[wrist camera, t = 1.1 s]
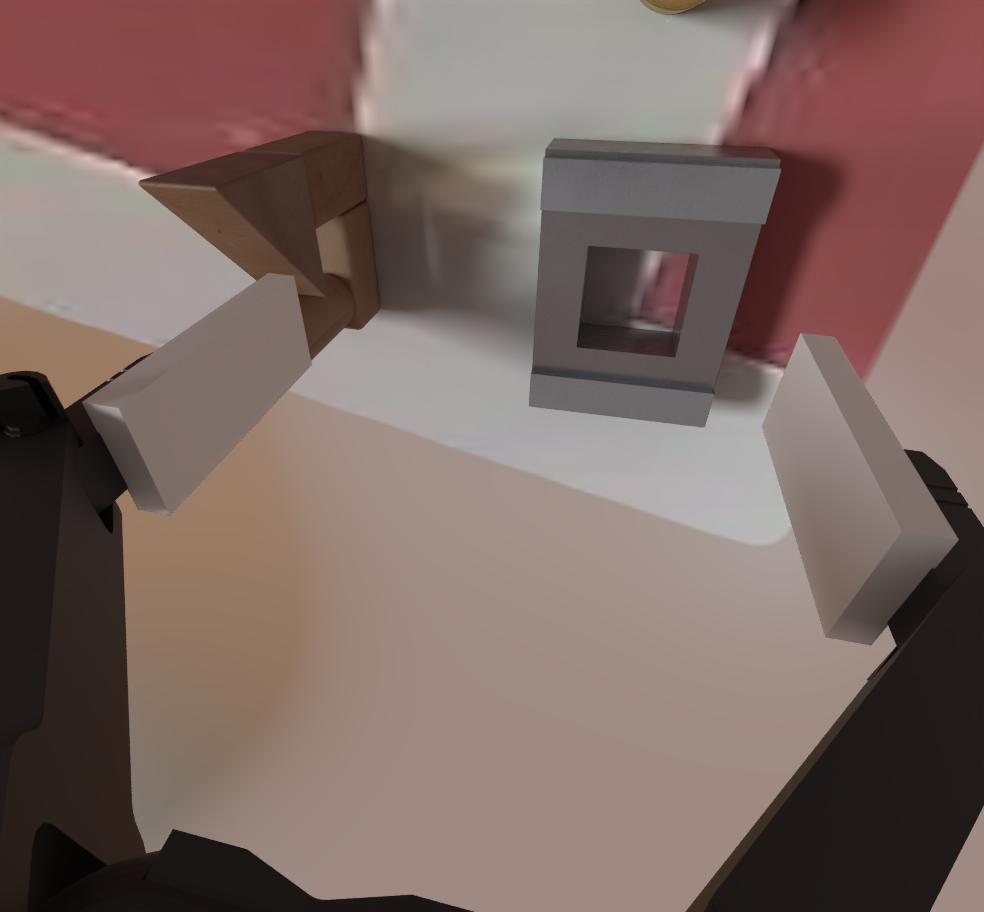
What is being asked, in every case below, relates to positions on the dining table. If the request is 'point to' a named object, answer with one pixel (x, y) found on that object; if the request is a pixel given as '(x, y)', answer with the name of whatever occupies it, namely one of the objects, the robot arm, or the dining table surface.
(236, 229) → the brown wooden stand
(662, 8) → the bushing
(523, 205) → the dining table surface
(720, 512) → the dining table surface
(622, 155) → the jig
